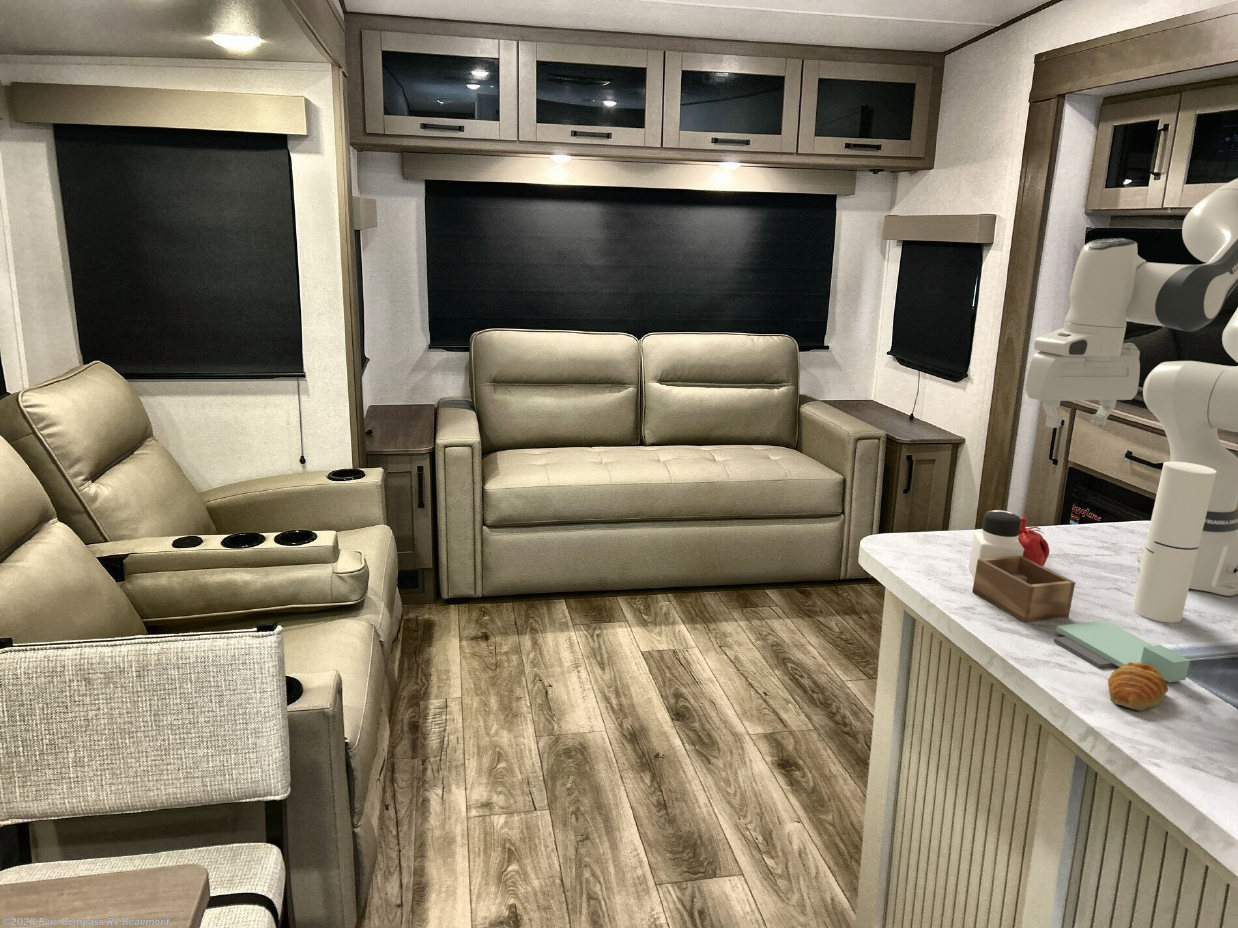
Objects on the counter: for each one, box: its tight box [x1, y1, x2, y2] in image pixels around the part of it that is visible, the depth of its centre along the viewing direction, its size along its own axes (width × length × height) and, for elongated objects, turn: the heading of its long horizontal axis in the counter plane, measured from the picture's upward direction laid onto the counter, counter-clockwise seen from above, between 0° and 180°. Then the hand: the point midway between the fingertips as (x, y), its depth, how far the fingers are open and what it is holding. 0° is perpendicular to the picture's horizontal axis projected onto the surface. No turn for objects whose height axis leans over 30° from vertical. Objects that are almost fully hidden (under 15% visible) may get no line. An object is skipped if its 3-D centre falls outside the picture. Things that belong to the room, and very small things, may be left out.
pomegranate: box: [1018, 516, 1050, 567], centre depth 164 cm, size 10×10×9 cm
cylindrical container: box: [1131, 460, 1216, 624], centre depth 144 cm, size 7×7×25 cm
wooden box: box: [971, 556, 1076, 623], centre depth 147 cm, size 9×12×6 cm
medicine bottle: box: [968, 509, 1024, 579], centre depth 157 cm, size 7×7×12 cm
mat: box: [1052, 636, 1118, 669], centre depth 132 cm, size 10×9×1 cm
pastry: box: [1107, 662, 1169, 712], centre depth 119 cm, size 9×7×4 cm
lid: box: [1055, 620, 1191, 683], centre depth 130 cm, size 10×17×3 cm, turn 18°
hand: (1075, 426), depth 146 cm, fingers open, 8 cm apart
